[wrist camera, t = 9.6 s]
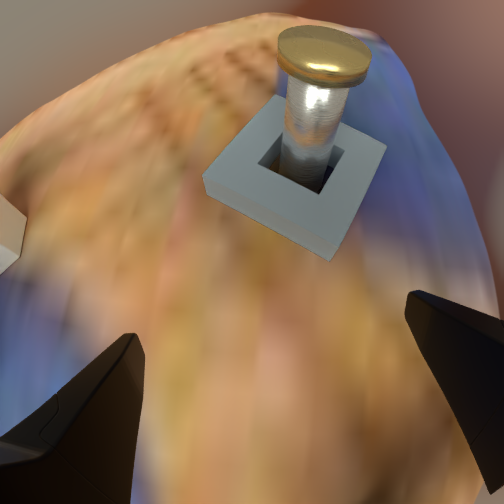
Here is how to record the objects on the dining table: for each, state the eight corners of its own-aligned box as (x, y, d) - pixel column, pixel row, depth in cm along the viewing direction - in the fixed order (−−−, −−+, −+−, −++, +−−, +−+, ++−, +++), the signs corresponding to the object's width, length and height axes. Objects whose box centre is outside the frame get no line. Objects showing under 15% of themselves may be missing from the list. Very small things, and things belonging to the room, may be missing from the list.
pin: (342, 188, 27) (390, 60, 14) (293, 215, 26) (322, 75, 13) (305, 148, 29) (328, 21, 16) (257, 170, 28) (259, 33, 15)
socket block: (377, 164, 28) (387, 145, 25) (329, 261, 24) (338, 247, 22) (273, 115, 31) (275, 94, 28) (206, 194, 27) (202, 175, 24)
